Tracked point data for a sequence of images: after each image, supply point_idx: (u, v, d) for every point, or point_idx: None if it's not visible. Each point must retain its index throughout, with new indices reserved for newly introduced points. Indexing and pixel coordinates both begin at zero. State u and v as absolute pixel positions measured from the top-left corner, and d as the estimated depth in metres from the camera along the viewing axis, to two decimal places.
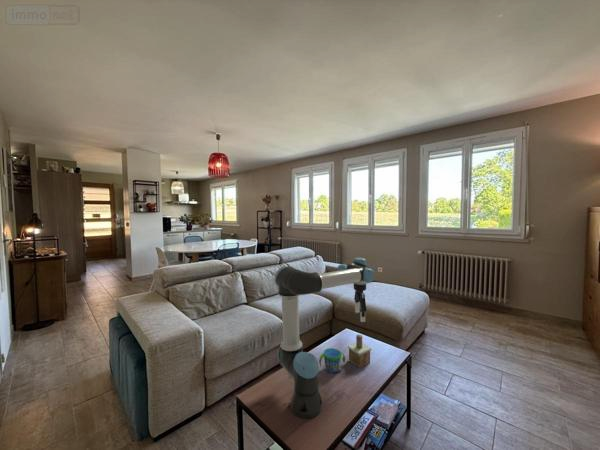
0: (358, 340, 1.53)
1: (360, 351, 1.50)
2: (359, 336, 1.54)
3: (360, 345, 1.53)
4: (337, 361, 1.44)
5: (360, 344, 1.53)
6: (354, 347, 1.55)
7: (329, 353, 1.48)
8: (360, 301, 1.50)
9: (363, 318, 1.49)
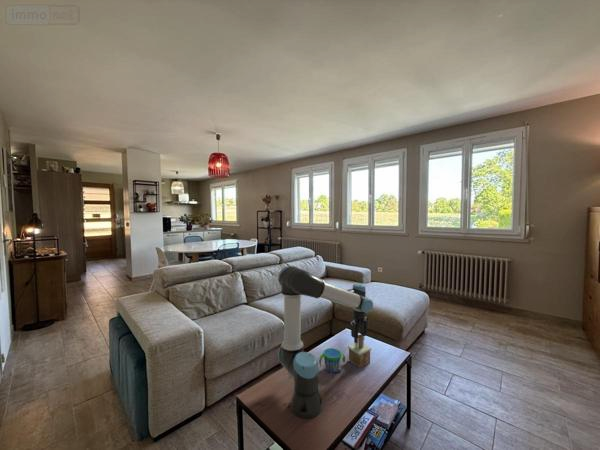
0: None
1: (360, 351, 1.50)
2: (359, 336, 1.54)
3: (360, 345, 1.53)
4: (337, 361, 1.44)
5: (360, 344, 1.53)
6: (354, 347, 1.55)
7: (329, 353, 1.48)
8: None
9: (356, 344, 1.53)
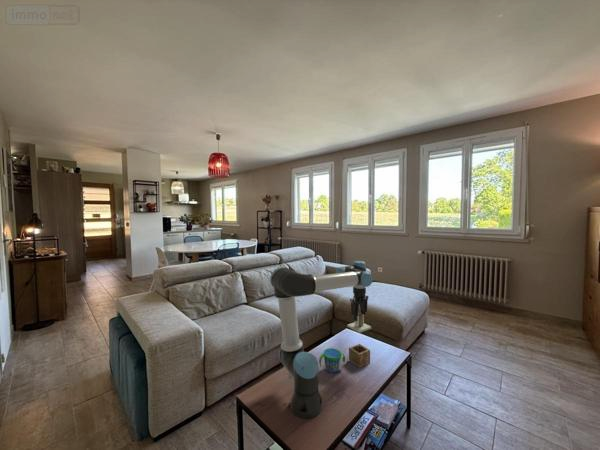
0: None
1: (360, 329, 1.47)
2: (359, 314, 1.51)
3: (360, 323, 1.50)
4: (337, 361, 1.44)
5: (360, 322, 1.50)
6: (354, 325, 1.52)
7: (329, 353, 1.48)
8: None
9: (356, 322, 1.51)
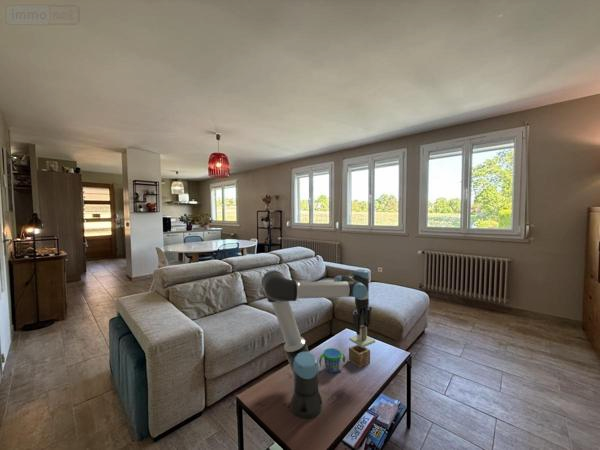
0: None
1: (363, 343, 1.37)
2: (362, 327, 1.41)
3: (363, 336, 1.40)
4: (337, 361, 1.44)
5: (363, 336, 1.40)
6: (356, 339, 1.41)
7: (329, 353, 1.48)
8: (357, 317, 1.41)
9: (359, 336, 1.40)
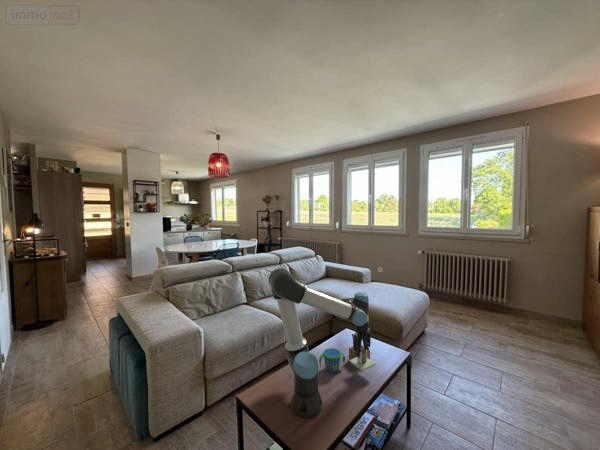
0: None
1: (363, 367, 1.38)
2: (362, 350, 1.42)
3: (363, 359, 1.41)
4: (337, 361, 1.44)
5: (363, 359, 1.41)
6: (356, 362, 1.42)
7: (329, 353, 1.48)
8: None
9: (359, 359, 1.41)
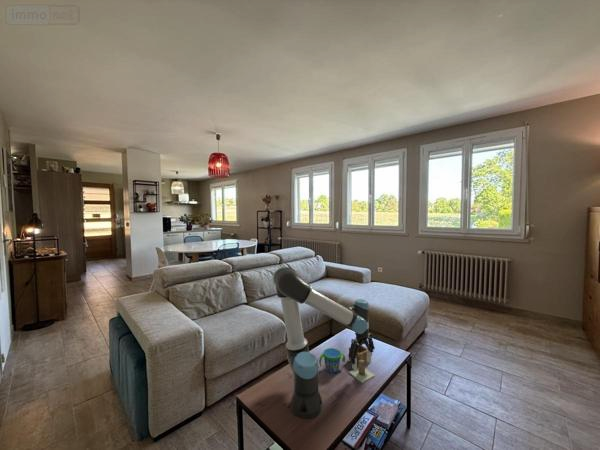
0: (361, 366, 1.41)
1: (363, 379, 1.38)
2: (362, 362, 1.42)
3: (363, 371, 1.41)
4: (337, 361, 1.44)
5: (363, 370, 1.41)
6: (356, 373, 1.42)
7: (329, 353, 1.48)
8: None
9: (354, 365, 1.39)
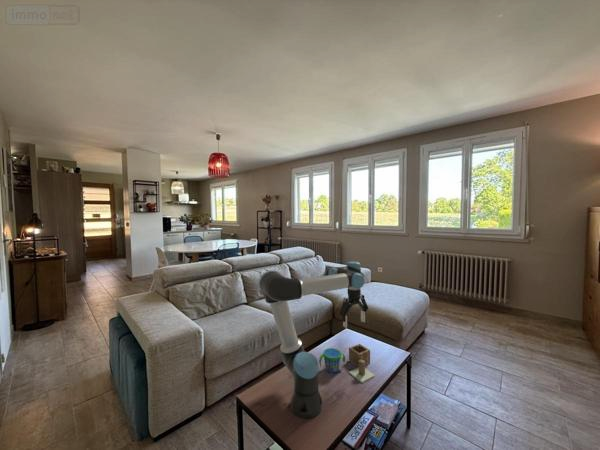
0: (360, 366, 1.41)
1: (363, 379, 1.38)
2: (362, 362, 1.42)
3: (363, 371, 1.41)
4: (337, 361, 1.44)
5: (363, 370, 1.41)
6: (356, 373, 1.42)
7: (329, 353, 1.48)
8: None
9: (344, 323, 1.43)
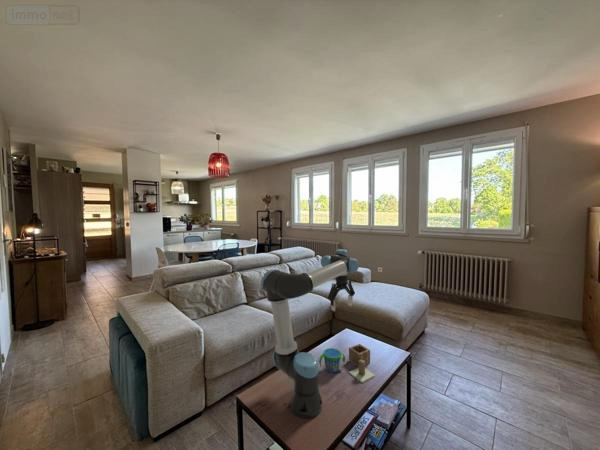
0: (360, 366, 1.41)
1: (363, 379, 1.38)
2: (362, 362, 1.42)
3: (363, 371, 1.41)
4: (337, 361, 1.44)
5: (363, 370, 1.41)
6: (356, 374, 1.42)
7: (329, 353, 1.48)
8: None
9: (333, 307, 1.53)
